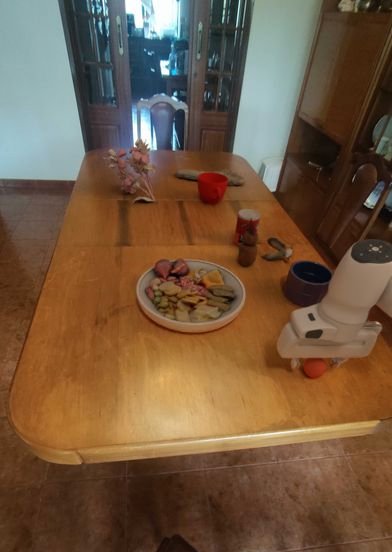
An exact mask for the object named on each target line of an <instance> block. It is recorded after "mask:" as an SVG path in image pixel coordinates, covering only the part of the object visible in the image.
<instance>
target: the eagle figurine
mask: <svg viewBox="0 0 392 552" xmlns="http://www.w3.org/2000/svg"><path fill="white" fill-rule="evenodd" d="M266 242H267V244H268V246H270V247H271V248H273V249H275V250H277V251H276V252H270V253H266V254H264V255H263V256H262V257H263V259H264V260H266V261H271V260H281V259H283V258H284V257H285V258H286V260H287V261H289V260H290V257H291V258H292V254H293V253H294V252H295V251H294V250H293V247H294V243H292V244H291V246H290V248H287V246H286V244H285V243H283V242H282V241H280V240H279V238H277V237H269V238H267V240H266Z"/></svg>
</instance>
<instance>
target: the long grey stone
mask: <svg viewBox="0 0 392 552" xmlns="http://www.w3.org/2000/svg"><path fill="white" fill-rule="evenodd" d="M206 172H208V171H206V170H195V169H188V168H178V169H176V171H175V177H176V176H177V177H176V178H178V177H179V178H178V179H185V180H189V179H191V180H190V181H194V180H198V175H199V174H201V173H206ZM212 172H213V173H219V174H223V175H225V176H226V177H227V178H228V184H227V186H230V187H232V186H244V184H245V182H246V178H245V177H243V176H241V175H239V173H237V172H233V171H232V170H229V169H228V168H224V169H220V170H215V171H212Z"/></svg>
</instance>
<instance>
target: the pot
mask: <svg viewBox="0 0 392 552" xmlns="http://www.w3.org/2000/svg"><path fill="white" fill-rule="evenodd" d="M333 274H334V272H333V271H332V269H331V268H329V266H327V265H325V264H322V263H320V262H317V261H313V260H307V259H306V260H297V261H294V262H293V263H291V264H290V266H289V269H288V272H287V274H286V278H285V282H284V285H283V289H282V294H283V296H284V297H285V299H286V300H287V301H288V302H290V303H292V304H293V305H296V306H298V307H301V308H306V307H309V306H312V305H315V304H318V303H321V301H322V299H323V298H324V297H325V296H326V295H327V293H328V287H329V283H330V281H331V279H332V276H333Z"/></svg>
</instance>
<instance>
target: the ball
mask: <svg viewBox="0 0 392 552" xmlns="http://www.w3.org/2000/svg"><path fill="white" fill-rule="evenodd" d="M302 368H303V371H304V373H305V375H306V376H307V377H309V378H312V379H319V378H321V377H323V376H324V375H325V373H326V371H327V363H326V362H325V360H324V358H306V359H305V361H304V362H303V367H302Z"/></svg>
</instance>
